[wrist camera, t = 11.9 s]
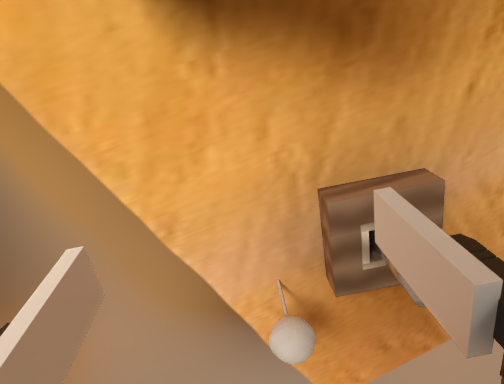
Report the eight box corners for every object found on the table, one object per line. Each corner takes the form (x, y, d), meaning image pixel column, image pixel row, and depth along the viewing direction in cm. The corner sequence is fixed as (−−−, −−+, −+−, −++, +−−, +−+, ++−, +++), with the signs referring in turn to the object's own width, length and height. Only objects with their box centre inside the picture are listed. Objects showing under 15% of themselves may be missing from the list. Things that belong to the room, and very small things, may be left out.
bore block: (317, 188, 50) (328, 204, 45) (424, 168, 50) (446, 181, 45) (326, 276, 56) (336, 298, 51) (421, 258, 56) (440, 278, 51)
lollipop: (295, 263, 55) (320, 335, 41) (298, 292, 57) (322, 370, 43) (257, 269, 54) (269, 344, 41) (261, 298, 57) (274, 378, 43)
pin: (362, 219, 51) (413, 282, 38) (388, 214, 51) (449, 276, 38) (363, 242, 53) (413, 310, 39) (388, 237, 53) (447, 304, 39)
